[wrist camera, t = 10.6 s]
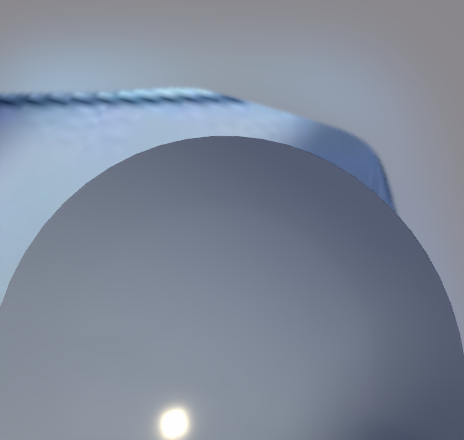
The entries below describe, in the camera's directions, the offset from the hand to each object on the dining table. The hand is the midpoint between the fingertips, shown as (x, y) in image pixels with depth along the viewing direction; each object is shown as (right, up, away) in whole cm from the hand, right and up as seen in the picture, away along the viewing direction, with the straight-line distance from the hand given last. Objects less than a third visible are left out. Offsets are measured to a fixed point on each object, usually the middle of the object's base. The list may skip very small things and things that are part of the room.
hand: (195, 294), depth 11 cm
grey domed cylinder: (-1, -3, +4) cm, 5 cm away
